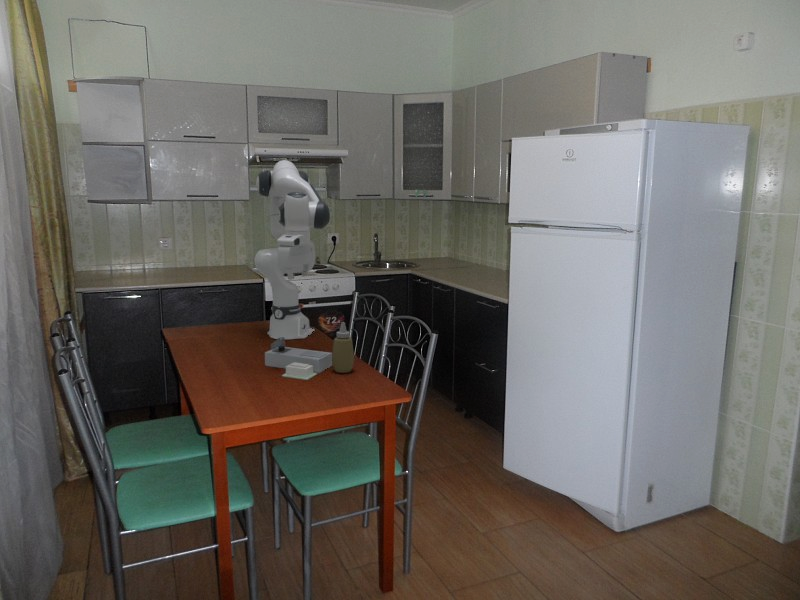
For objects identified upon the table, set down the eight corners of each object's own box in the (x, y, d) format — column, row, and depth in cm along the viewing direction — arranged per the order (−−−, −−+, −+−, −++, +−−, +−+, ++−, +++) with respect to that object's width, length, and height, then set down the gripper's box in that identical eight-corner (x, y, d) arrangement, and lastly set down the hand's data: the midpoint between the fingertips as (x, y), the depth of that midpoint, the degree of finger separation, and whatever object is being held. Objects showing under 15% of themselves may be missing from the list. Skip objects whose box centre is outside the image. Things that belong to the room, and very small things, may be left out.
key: (285, 348, 228) (285, 337, 227) (276, 355, 218) (275, 343, 217) (279, 348, 228) (279, 337, 227) (269, 355, 219) (269, 343, 218)
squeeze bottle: (354, 374, 216) (354, 324, 213) (331, 374, 215) (331, 324, 212) (354, 367, 224) (354, 319, 221) (332, 367, 223) (332, 319, 220)
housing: (279, 358, 234) (279, 345, 233) (332, 365, 226) (332, 352, 225) (265, 365, 224) (264, 351, 223) (319, 373, 216) (318, 358, 215)
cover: (293, 370, 217) (293, 361, 217) (313, 373, 214) (313, 363, 214) (285, 374, 213) (285, 364, 212) (305, 377, 210) (305, 367, 209)
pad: (292, 370, 219) (292, 369, 219) (316, 374, 215) (316, 373, 215) (281, 376, 212) (281, 375, 212) (306, 380, 209) (306, 378, 209)
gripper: (304, 236, 226) (305, 273, 228) (274, 240, 207) (274, 280, 210) (319, 237, 224) (319, 274, 226) (290, 241, 205) (290, 282, 207)
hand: (298, 277), depth 218 cm, fingers open, 8 cm apart
